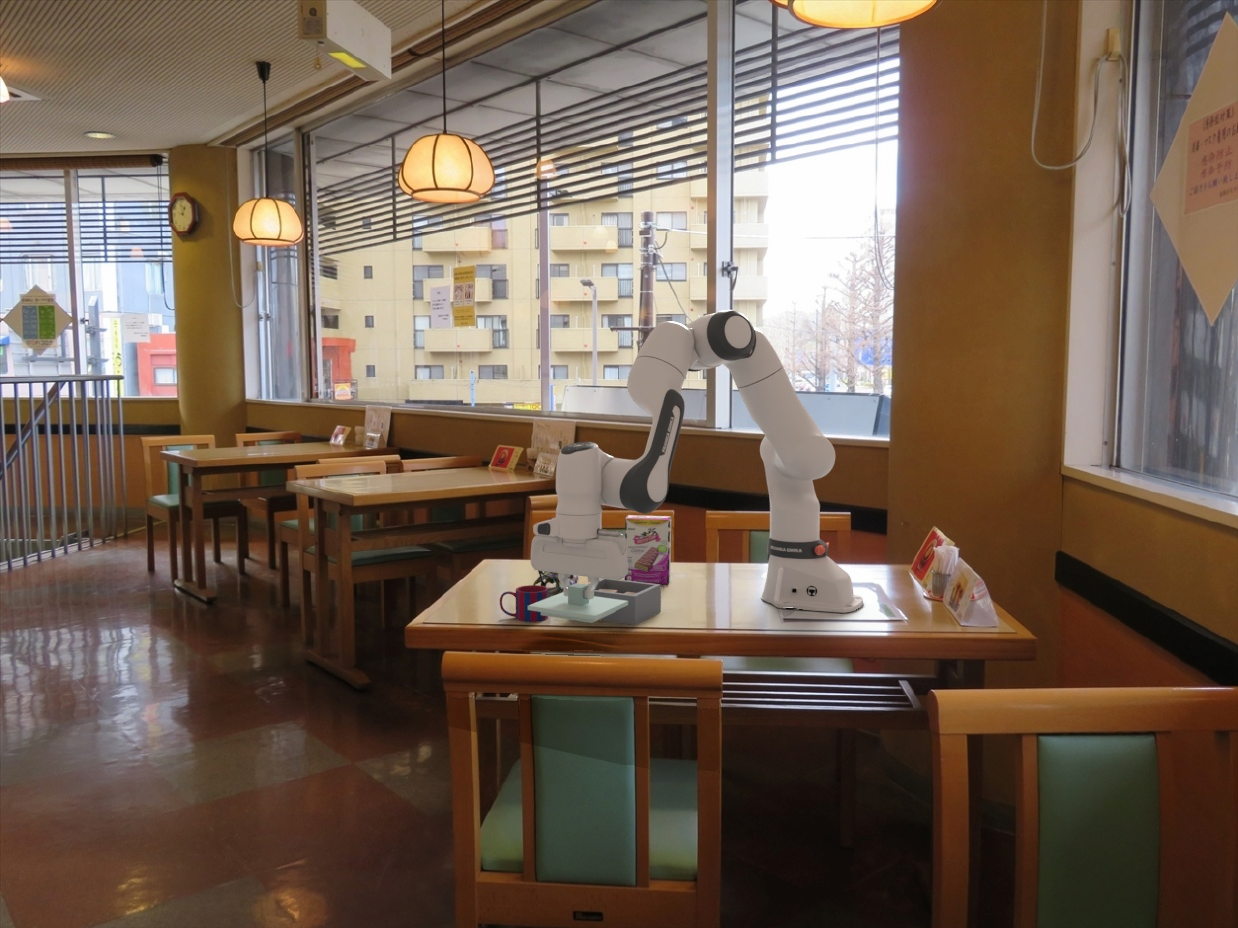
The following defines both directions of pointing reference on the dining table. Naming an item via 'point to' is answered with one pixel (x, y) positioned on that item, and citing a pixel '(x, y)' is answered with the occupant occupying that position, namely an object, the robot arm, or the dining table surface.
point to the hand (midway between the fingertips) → (578, 597)
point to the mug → (527, 602)
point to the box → (631, 600)
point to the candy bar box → (648, 548)
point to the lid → (577, 605)
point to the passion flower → (554, 579)
